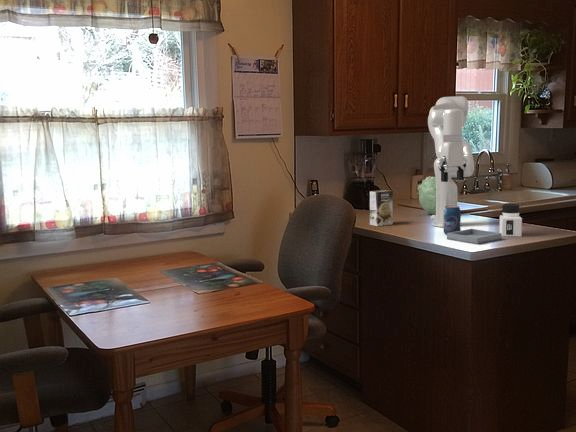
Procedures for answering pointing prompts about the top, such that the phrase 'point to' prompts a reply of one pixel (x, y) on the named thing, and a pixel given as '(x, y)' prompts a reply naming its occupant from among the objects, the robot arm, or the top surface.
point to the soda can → (452, 219)
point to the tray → (474, 236)
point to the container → (510, 220)
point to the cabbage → (428, 195)
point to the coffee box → (381, 208)
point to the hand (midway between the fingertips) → (452, 180)
